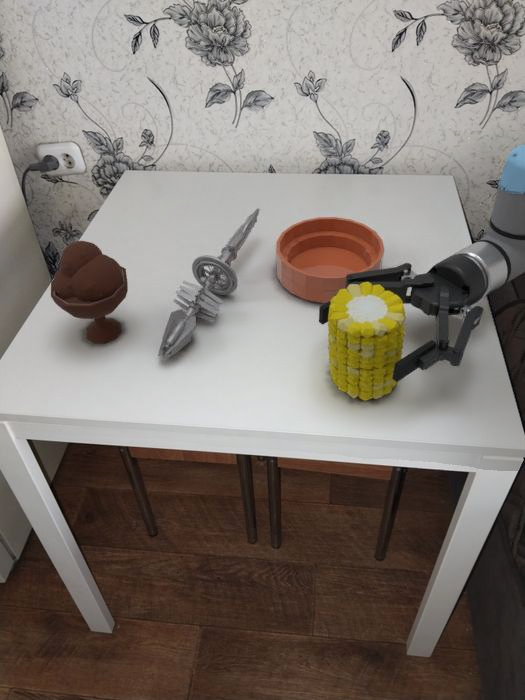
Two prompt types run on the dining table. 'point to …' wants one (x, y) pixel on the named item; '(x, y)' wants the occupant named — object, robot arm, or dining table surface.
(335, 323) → the food
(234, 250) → the spaceship
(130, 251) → the dining table surface
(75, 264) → the ice cream bowl
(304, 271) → the terracotta bowl
